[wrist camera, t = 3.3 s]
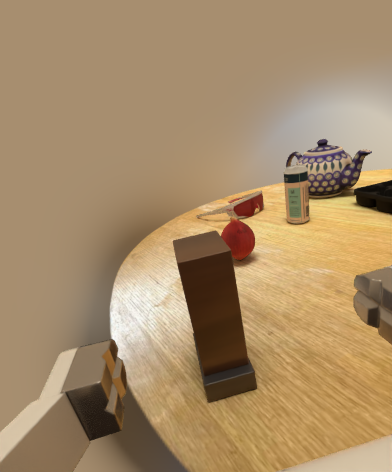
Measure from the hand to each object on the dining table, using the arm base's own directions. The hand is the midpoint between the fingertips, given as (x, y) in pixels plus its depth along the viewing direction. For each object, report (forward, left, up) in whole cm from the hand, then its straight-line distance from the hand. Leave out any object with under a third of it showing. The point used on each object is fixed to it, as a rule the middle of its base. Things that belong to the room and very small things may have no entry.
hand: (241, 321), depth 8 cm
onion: (+32, -11, -15) cm, 37 cm away
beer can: (+42, -29, -15) cm, 53 cm away
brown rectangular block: (+12, -1, -15) cm, 19 cm away
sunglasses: (+61, -21, -15) cm, 66 cm away
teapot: (+57, -47, -15) cm, 76 cm away
